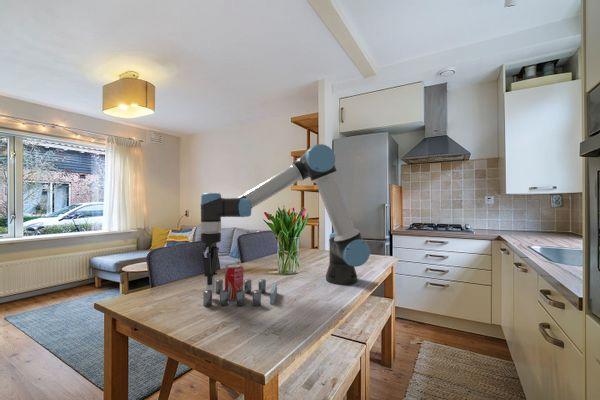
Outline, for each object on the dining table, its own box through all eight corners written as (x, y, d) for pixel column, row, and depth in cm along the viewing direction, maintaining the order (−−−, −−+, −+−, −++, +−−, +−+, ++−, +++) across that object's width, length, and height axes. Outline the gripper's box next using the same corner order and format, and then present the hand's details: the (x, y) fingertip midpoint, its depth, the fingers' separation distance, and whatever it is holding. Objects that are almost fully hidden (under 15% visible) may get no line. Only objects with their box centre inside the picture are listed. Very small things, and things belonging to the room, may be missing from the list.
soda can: (245, 295, 109) (245, 263, 109) (240, 302, 102) (240, 267, 102) (228, 294, 110) (228, 262, 110) (221, 301, 103) (222, 267, 103)
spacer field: (266, 291, 114) (266, 279, 114) (260, 306, 97) (260, 292, 97) (216, 291, 114) (216, 279, 114) (202, 306, 97) (202, 292, 97)
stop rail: (276, 293, 112) (276, 283, 112) (274, 304, 100) (274, 293, 100) (273, 293, 112) (273, 283, 112) (269, 304, 100) (270, 293, 100)
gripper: (207, 230, 113) (207, 287, 112) (194, 234, 100) (194, 298, 99) (225, 230, 113) (225, 287, 112) (215, 234, 100) (215, 298, 99)
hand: (210, 292), depth 106 cm, fingers closed
